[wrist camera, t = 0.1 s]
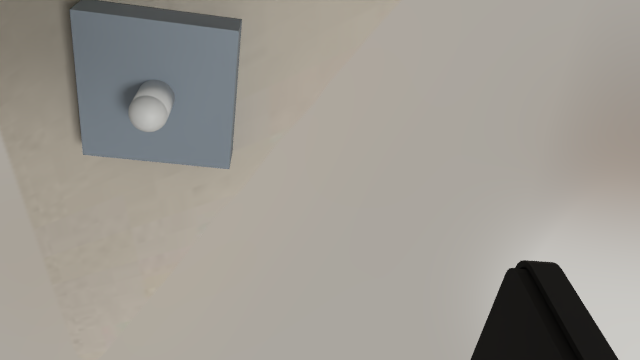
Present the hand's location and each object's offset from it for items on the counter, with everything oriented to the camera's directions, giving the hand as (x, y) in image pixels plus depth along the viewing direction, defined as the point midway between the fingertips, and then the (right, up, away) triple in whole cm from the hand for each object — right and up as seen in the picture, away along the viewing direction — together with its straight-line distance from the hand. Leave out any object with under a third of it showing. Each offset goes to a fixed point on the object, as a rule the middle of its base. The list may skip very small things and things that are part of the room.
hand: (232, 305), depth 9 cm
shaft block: (-11, +10, +36) cm, 39 cm away
